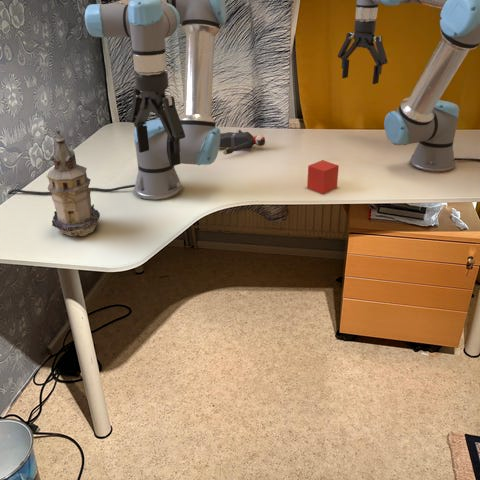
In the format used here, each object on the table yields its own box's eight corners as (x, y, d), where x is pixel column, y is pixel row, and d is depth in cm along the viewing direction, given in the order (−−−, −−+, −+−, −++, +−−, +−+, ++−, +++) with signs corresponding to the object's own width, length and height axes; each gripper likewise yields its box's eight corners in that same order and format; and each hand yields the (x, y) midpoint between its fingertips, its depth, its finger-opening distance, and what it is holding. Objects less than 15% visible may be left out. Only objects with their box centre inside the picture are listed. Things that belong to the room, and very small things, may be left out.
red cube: (322, 194, 174) (324, 171, 170) (307, 188, 179) (308, 165, 175) (337, 188, 178) (338, 165, 175) (321, 182, 183) (322, 159, 179)
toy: (199, 123, 225) (269, 123, 219) (200, 137, 228) (270, 138, 222) (181, 143, 203) (259, 144, 197) (183, 159, 206) (259, 160, 200)
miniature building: (80, 214, 164) (63, 117, 149) (111, 225, 157) (96, 125, 142) (44, 231, 154) (22, 130, 140) (75, 244, 147) (55, 139, 133)
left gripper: (196, 77, 119) (201, 167, 129) (135, 61, 135) (144, 142, 146) (169, 83, 115) (176, 175, 125) (109, 66, 131) (120, 149, 141)
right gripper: (402, 22, 185) (394, 84, 196) (343, 15, 201) (338, 73, 211) (390, 24, 181) (383, 87, 191) (331, 17, 196) (327, 76, 207)
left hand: (159, 158), depth 135 cm, fingers open, 13 cm apart
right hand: (359, 80), depth 201 cm, fingers open, 13 cm apart
